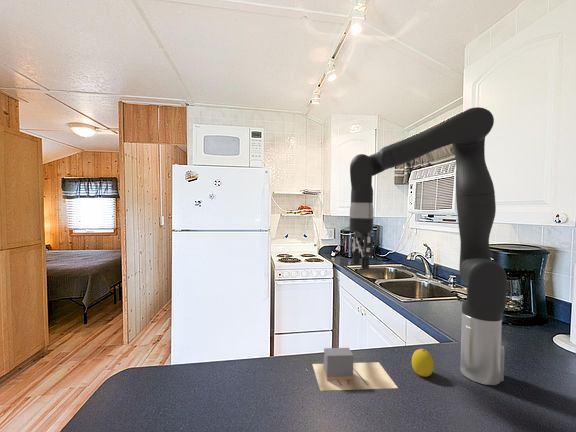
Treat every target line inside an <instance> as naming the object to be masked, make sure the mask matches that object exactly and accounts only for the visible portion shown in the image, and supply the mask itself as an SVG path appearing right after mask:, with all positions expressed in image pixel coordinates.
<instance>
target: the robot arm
mask: <svg viewBox="0 0 576 432" xmlns="http://www.w3.org/2000/svg"><path fill="white" fill-rule="evenodd" d="M494 124H495V118H494V114H492V112H491V111H490V110H488V109H487V108H484V107H478V106H477V107H471V108H467V109H466V110H463V112H460V113H459V114H457V115H455V116H453V117H452V118H450V119H447V120H446V121H444V122H442V123H440V124H438V125H436V126H434V127H432V128H430V129H429V128H428V129H427V130H425V131H423V132H420V133H418V134H415V135H412V136H409V137H407V138H405V139H401V140H399V141H397V142H396V141H395V142H394V143H391V144H389V145H386V146H383V147H382V148H381V149H379V150H378V151H377V152H375V153H373V154H371V155H368V154H367V155H366V154H364V153H362V154H361V153H360V154H357V155H355V156H354V157H353V158H352V160H351V161H350V163H349V175H350V176H349V177H350V184H351V190H350V207H349V231H350V232H351V233H350V251H351V253H352V264H353V265H360V261H361V265H360V266H361V270H362V269H363V270H369V268H370V258H371V257H372V256H373V254H374V253H373V251H374V249H373V247H374V246H373V245H374V242H373V241H374V240H373V238H374V237H373V236H369V233H372V232H373V231H374V188H373V184H372V183H373V182H372V180H373V176H376V175H378V174H381V173H383V172H385V171H386V170H388V169H392V168H396V167H398V166H402V165H404V164H406V163H409V162H412V161H414V160H416V159H418V158H421V157H424V156H425V155H427V154H430V153H431V152H434V151H436V150H438V149H441V148H444V147H447V146H449V145H452V147H453V153H454V158H455V167H456V168H455V199H456V203H455V204H456V211H457V212H456V213H457V221H458V223H457V224H458V229H459V230H458V231H459V232H458V233H459V239H460V247H459V249H460V251H459V275H460V278H461V280H462V281H463V282H464V283H465V284H466V285H467V288H466V289H467V290H466V298H465V301H463V302H462V305H461V330H460V333H461V335H460V337H461V339H460V367H459V369H460V370H459V371H460V373H461V374H462V375H463V376H465V377H466V378H467V379H469V380H471V381H473V382H476V383H479V384H482V385H487V386H497V385H499V384H500V383H501V382H504V377H505V374H504V373H505V371H504V370H505V346H504V345H502V322H503V321H502V320H503V319H502V317H503V313H504V312H505V309H506V304H507V291H508V275H507V273H506V271H505V269H504V268H503V266H501V265H500V263H497V262H495V261H492V257H491V253H490V251H491V250H490V235H491V231H492V228H493V225H494V221H495V217H496V213H497V212H496V209H497V207H496V191H495V187H494V183H493V180H492V177H491V174H490V172H489V169H488V167H487V163H486V155H485V154H486V153H485V146H486V145H485V143H486V137H487V136H488V135H489V133H490V132H491V131H492V129H493V127H494ZM352 232H353V233H352ZM360 255H361V256H360ZM360 259H361V260H360Z"/></svg>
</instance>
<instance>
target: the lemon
mask: <svg viewBox="0 0 576 432" xmlns="http://www.w3.org/2000/svg"><path fill="white" fill-rule="evenodd" d="M434 363H435V361H434V359H433V356H432V355H431V353H429V351H427V350H426V349H425V348H419V349H416V350H415V351H414V352H413V354H412V356H411V366H412V369H413V371H414V372H415V373H416V374H417V375H418V376H419V377H422V378H426V377H429V376H431V375H432V374H433V372H434V367H435V366H434V365H435V364H434Z"/></svg>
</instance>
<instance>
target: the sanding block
mask: <svg viewBox="0 0 576 432" xmlns="http://www.w3.org/2000/svg"><path fill="white" fill-rule="evenodd" d="M353 363H354V354H353V352H352V351H351V349H350V347H325V348H324V349H323V364H324V374H325V376H326V379H327V380H353Z"/></svg>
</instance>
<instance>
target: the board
mask: <svg viewBox="0 0 576 432" xmlns="http://www.w3.org/2000/svg"><path fill="white" fill-rule="evenodd" d="M312 368H313V371H314V375H315V377H316V381H317V385H318V387H319V388H318V389H319V391H320V392H321V391H322V392H325V391H327V392H328V391H329V392H330V391H354V390H355V391H358V390H378V389H379V390H381V389H382V390H386V389H387V390H388V389H399V387H398V386H397V385H396V383H395V382H394V381H393V379H392V378H391V377H390V375H389V374H388V373H387V371H386V370H385V369H384V367H383V366H382V364H381V363H380V362H377V361H376V362H374V361H373V362H353V380H327V379H326V376H325V374H324V363H312Z"/></svg>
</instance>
